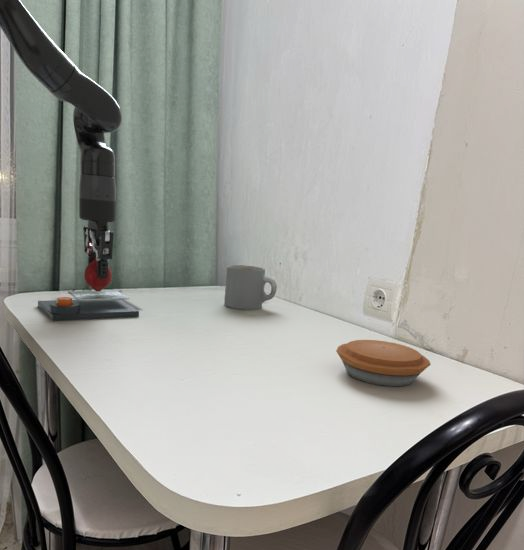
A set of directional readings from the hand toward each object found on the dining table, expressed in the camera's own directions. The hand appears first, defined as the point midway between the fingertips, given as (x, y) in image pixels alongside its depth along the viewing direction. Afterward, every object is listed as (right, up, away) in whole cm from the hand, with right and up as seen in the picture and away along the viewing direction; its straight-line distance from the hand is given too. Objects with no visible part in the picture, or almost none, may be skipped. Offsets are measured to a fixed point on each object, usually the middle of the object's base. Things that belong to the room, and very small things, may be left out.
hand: (97, 275), depth 113 cm
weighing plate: (0, -4, +1) cm, 5 cm away
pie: (+57, -21, -27) cm, 66 cm away
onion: (0, -4, +1) cm, 4 cm away
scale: (-2, -8, -1) cm, 8 cm away
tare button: (-4, -7, -9) cm, 12 cm away
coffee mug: (+33, -5, +20) cm, 39 cm away
